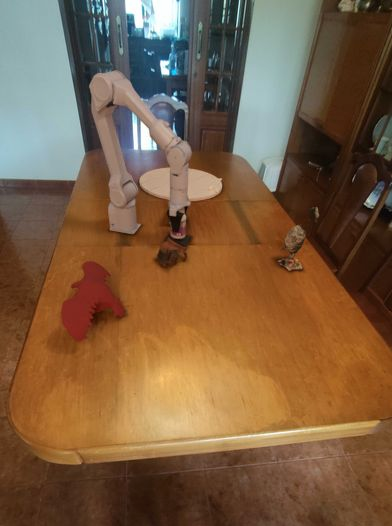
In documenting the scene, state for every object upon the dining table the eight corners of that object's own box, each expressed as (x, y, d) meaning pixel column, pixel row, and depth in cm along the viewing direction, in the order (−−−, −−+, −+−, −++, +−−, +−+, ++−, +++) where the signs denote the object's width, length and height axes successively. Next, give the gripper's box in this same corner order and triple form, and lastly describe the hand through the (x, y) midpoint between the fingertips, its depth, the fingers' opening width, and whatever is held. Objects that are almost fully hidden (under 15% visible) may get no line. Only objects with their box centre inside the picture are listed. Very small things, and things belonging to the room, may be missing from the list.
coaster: (163, 243, 112) (163, 243, 112) (169, 233, 117) (169, 232, 117) (185, 247, 111) (185, 246, 111) (190, 237, 117) (190, 236, 116)
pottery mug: (152, 256, 107) (162, 233, 104) (177, 267, 111) (188, 245, 108) (157, 267, 97) (168, 242, 94) (184, 278, 101) (195, 255, 98)
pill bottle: (167, 237, 112) (167, 209, 105) (174, 230, 115) (174, 203, 108) (182, 240, 111) (182, 213, 104) (187, 234, 114) (188, 207, 107)
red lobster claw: (119, 294, 98) (78, 260, 89) (140, 279, 93) (99, 242, 85) (96, 364, 78) (42, 329, 70) (121, 349, 74) (66, 310, 65)
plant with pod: (294, 254, 113) (313, 196, 98) (305, 272, 105) (327, 212, 90) (272, 254, 112) (288, 196, 97) (281, 272, 104) (300, 212, 90)
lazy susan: (237, 184, 156) (238, 176, 154) (194, 209, 133) (195, 201, 130) (171, 164, 169) (171, 157, 167) (122, 185, 146) (121, 177, 143)
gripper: (185, 197, 96) (183, 239, 105) (196, 181, 105) (193, 220, 115) (162, 193, 96) (163, 236, 106) (175, 177, 106) (174, 217, 116)
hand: (177, 227), depth 111 cm, fingers closed on pill bottle, 5 cm apart
